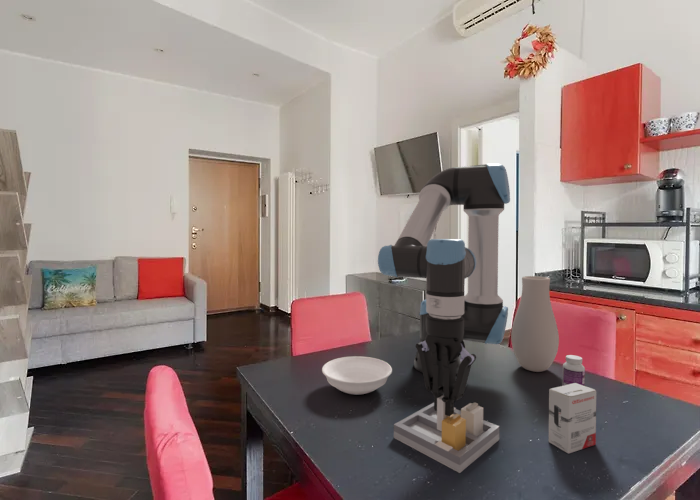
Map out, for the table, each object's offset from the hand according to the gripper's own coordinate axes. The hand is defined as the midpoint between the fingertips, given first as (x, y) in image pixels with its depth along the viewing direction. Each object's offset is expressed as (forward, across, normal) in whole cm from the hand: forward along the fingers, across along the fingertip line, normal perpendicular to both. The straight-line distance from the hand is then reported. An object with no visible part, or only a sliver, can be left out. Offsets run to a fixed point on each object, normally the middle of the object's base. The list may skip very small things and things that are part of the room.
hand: (443, 428), depth 76 cm
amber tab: (+3, +2, 0) cm, 4 cm away
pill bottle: (+5, +10, +51) cm, 52 cm away
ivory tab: (+3, +2, +7) cm, 8 cm away
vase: (+5, -4, +60) cm, 60 cm away
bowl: (+5, -33, +7) cm, 34 cm away
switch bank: (+4, -2, +4) cm, 6 cm away
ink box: (+5, +17, +22) cm, 28 cm away
